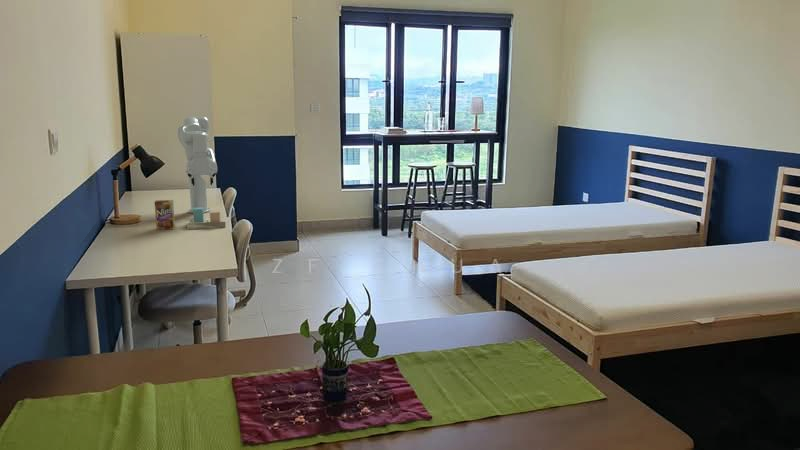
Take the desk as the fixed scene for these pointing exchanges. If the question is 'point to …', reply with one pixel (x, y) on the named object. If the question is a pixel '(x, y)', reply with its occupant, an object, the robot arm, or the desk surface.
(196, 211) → the teal block
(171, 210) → the candy box
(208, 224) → the lane shelf
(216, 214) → the ochre block
